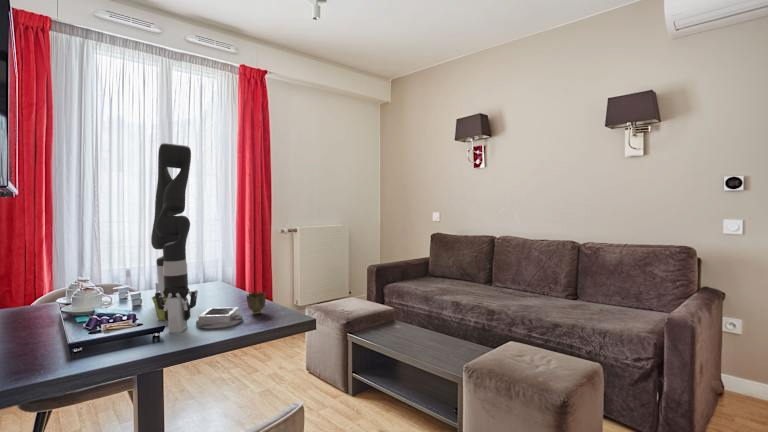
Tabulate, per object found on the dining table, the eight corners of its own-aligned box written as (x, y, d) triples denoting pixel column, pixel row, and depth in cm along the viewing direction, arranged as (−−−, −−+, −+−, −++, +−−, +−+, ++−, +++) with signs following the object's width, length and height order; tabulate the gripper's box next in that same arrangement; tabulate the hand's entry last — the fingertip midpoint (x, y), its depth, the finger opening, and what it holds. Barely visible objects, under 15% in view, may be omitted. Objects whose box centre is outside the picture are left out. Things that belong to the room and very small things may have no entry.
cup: (260, 317, 159) (260, 296, 159) (243, 316, 161) (242, 296, 160) (269, 311, 167) (269, 291, 166) (253, 310, 168) (252, 291, 168)
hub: (188, 330, 145) (188, 318, 145) (206, 316, 161) (205, 306, 161) (235, 329, 146) (234, 317, 145) (247, 315, 162) (247, 305, 161)
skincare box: (175, 327, 149) (173, 294, 148) (187, 327, 149) (186, 294, 148) (168, 333, 142) (166, 299, 142) (181, 332, 143) (179, 298, 142)
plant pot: (184, 317, 160) (182, 295, 160) (157, 323, 153) (156, 300, 153) (174, 313, 167) (173, 291, 166) (149, 318, 160) (147, 296, 159)
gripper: (200, 270, 149) (202, 316, 150) (159, 271, 148) (162, 317, 149) (192, 274, 141) (194, 323, 142) (148, 275, 140) (151, 324, 141)
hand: (177, 320), depth 145 cm, fingers open, 5 cm apart
